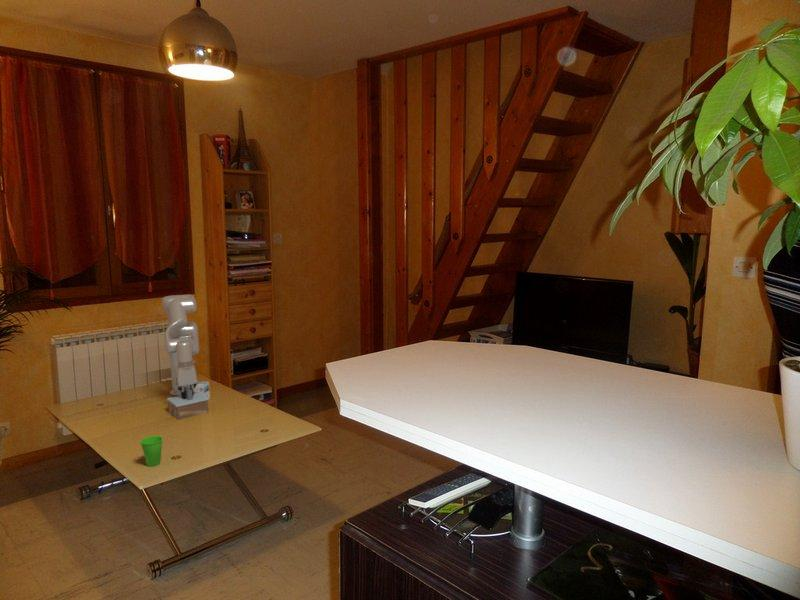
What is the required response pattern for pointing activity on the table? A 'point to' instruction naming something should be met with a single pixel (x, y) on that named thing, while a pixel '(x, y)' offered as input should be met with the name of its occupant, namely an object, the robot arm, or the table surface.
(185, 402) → the lid
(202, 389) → the light bulb box
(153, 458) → the cup
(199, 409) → the crate
